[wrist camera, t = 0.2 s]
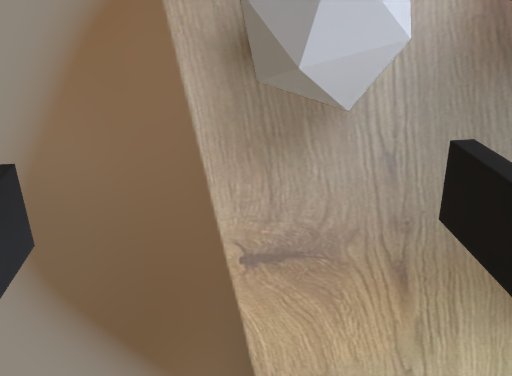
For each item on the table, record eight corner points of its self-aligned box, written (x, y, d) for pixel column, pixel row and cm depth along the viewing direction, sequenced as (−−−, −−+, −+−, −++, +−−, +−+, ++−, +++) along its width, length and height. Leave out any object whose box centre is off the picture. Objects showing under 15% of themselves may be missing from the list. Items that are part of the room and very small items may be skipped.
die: (247, 101, 31) (375, 162, 25) (173, -15, 24) (325, 30, 18) (328, 8, 32) (469, 44, 26) (281, -126, 25) (456, -121, 19)
